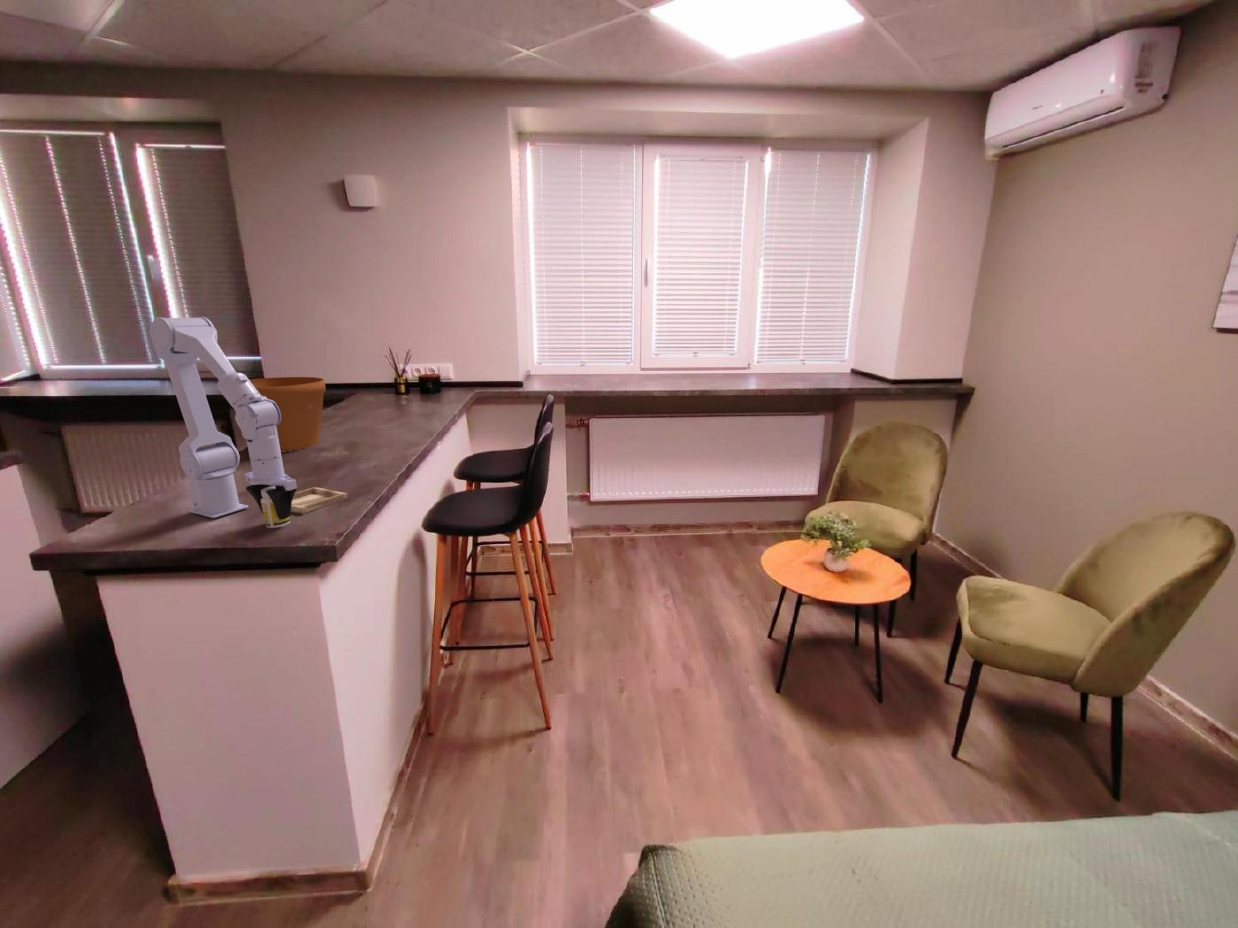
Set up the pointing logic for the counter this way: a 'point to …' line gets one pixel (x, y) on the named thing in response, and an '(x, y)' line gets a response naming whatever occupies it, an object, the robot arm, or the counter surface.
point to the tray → (314, 499)
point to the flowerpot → (295, 408)
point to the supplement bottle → (271, 511)
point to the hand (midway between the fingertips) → (276, 516)
